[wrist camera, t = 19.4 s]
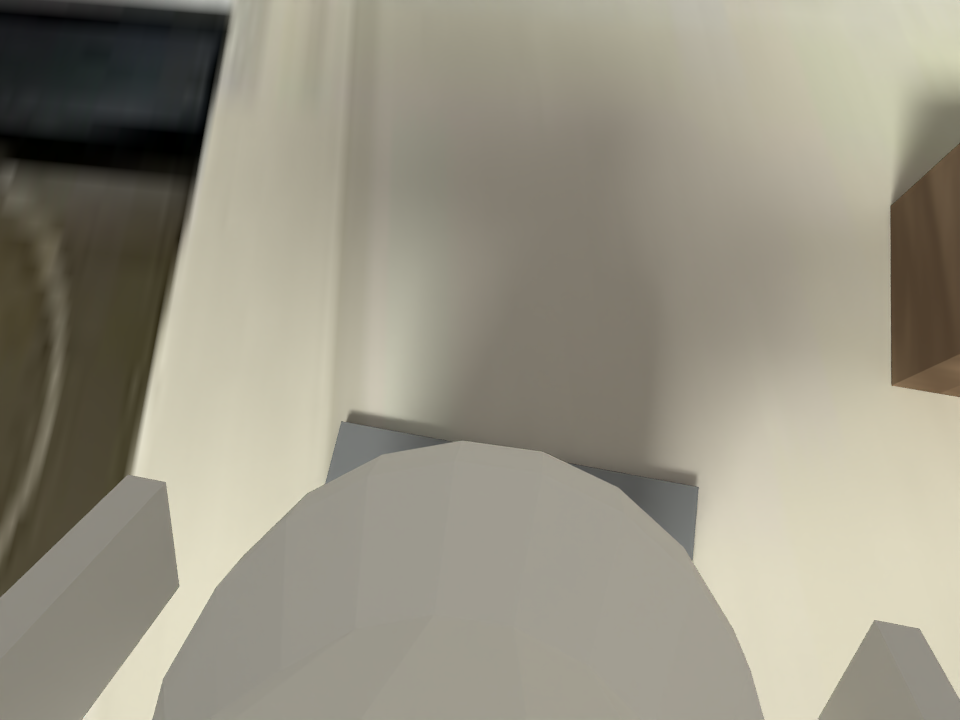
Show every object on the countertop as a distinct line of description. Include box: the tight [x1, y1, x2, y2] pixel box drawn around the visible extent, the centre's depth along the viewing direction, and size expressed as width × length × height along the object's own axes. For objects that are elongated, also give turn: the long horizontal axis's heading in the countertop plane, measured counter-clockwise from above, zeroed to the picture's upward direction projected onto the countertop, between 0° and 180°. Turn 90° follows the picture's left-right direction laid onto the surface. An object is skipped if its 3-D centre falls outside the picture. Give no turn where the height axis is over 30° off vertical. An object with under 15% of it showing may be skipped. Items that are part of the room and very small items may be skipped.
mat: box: [325, 421, 699, 560], centre depth 25 cm, size 15×15×1 cm
